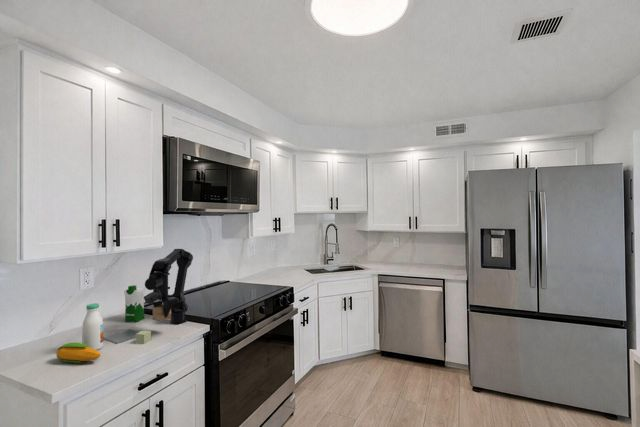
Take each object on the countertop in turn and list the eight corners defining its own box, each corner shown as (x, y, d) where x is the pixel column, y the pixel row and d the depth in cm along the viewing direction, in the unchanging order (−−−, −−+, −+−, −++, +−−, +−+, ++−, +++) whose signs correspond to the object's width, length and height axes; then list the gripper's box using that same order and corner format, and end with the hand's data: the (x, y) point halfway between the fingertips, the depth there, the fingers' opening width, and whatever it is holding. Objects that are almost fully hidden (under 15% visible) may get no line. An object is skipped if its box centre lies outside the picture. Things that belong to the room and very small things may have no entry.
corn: (67, 337, 138) (108, 340, 134) (68, 355, 138) (109, 358, 135) (50, 346, 130) (92, 349, 127) (51, 364, 131) (93, 367, 127)
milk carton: (122, 322, 180) (122, 287, 180) (133, 317, 189) (133, 283, 189) (137, 323, 179) (136, 287, 179) (147, 317, 188) (147, 283, 188)
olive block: (142, 339, 155) (142, 330, 155) (150, 340, 154) (150, 331, 154) (135, 343, 150) (135, 334, 150) (144, 344, 150) (144, 334, 150)
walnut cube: (163, 316, 167) (163, 304, 167) (171, 317, 164) (171, 306, 164) (152, 319, 161) (152, 307, 161) (160, 321, 158) (160, 309, 158)
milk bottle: (96, 352, 141) (96, 306, 141) (78, 352, 140) (77, 307, 140) (107, 345, 149) (106, 301, 149) (89, 345, 148) (89, 302, 148)
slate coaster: (129, 330, 168) (129, 329, 168) (144, 334, 161) (144, 333, 161) (102, 338, 157) (102, 337, 157) (117, 343, 150) (117, 342, 150)
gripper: (135, 286, 160) (135, 317, 160) (158, 290, 151) (158, 324, 151) (156, 282, 170) (156, 312, 170) (179, 286, 161) (179, 317, 160)
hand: (162, 316), depth 162 cm, fingers closed on walnut cube, 6 cm apart
